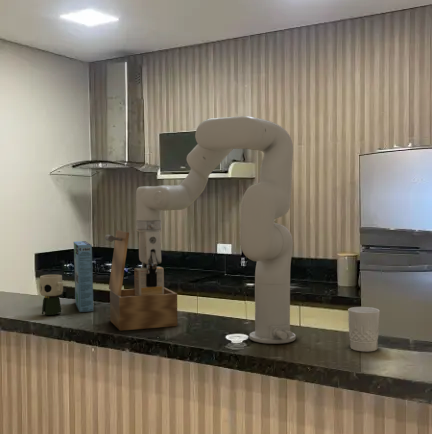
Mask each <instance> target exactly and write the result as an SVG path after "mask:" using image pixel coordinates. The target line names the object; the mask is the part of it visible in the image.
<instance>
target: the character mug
mask: <svg viewBox="0 0 432 434" xmlns="http://www.w3.org/2000/svg"><path fill="white" fill-rule="evenodd" d="M63 292H64V283H63V275H62V274H43V275H40V276H39V294H40V295H41V296H43V299H42V306H41V314H42V315H45V316H52V315H53V316H56V315H57V314H61V313H62V305H61V299H60V297H59V296H60V295H63Z"/></svg>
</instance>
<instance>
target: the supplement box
mask: <svg viewBox="0 0 432 434" xmlns="http://www.w3.org/2000/svg"><path fill="white" fill-rule="evenodd" d="M149 268H150V267H149ZM133 273H134V278H133V279H134V289H135V296H143V295H158V294H164V287H165V271H164V267H162V266H157V286H156V287H147V286H146V274H147V267H145V268H142V267H135V268H133Z"/></svg>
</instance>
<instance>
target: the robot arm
mask: <svg viewBox="0 0 432 434" xmlns="http://www.w3.org/2000/svg"><path fill="white" fill-rule="evenodd" d="M194 134H195V135H194V137H195V141H196V143H197V144H196V145H195V146H194V147H193V148H192V149H191V151H190V152H189V153H188V154H187V155H186V162H187V165H188V167H189V168H190V170H189V172H188V174H187V175H186V177H185V178H184V179H183V180H182V181H181V182H180V183H179V184H178V185H176V184H174V185H173V184H169V185H167V184H166V185H165V184H164V185H156V186H153V185H152V186H150V185H149V186H147V185H145V186H138V187H137V188H136V191H135V214H136V215H135V216H136V217H135V218H136V221H135V222H136V223H135V224H136V226H135V227H136V232H138V234H139V236H138V260H139V261H140V262H141V268H145V267H147V274H146V286H147V287H156V286H157V267H158V264H161V263H162V245H161V235H160V234H161V233H160V232H161V231H162V211H181V210H182V211H183V210H185V209H188V207H190V206H191V205H192V204H193V203H195V201H196V200H197V199H199V197H200V196H201V195H202V193H203V192H204V191H205V189H206V187H207V184H208V181H209V177H210V175H211V174H212V173H213V171H215V169H216V168H217V167H218V166H219V165H220V164H221V163H222V162H223V161H224V160H225V159H226V157H227V156H228V155H229V154H230V153H231V152H232V151H233V150H240V149H241V150H251V151H260V152H262V153H263V157H262V160H261V163H260V168H259V182H256V183H253V184H252V185H250V186H249V187H247V189H246V190H245V192H244V193H243V195H242V196H243V197H242V199H241V205H240V206H241V207H240V227H239V228H240V229H239V244H240V249H241V252H242V253H243V255H244V256H245V258H247V259H249V260H251V261H253V262H256V263H255V264H256V265H255V272H254V330H253V331H252V332H250V333H249V335H248V336H249V340H250V341H253V342H255V343H259V344H270V345H271V344H272V345H279V344H280V345H281V344H288V343H292V342H294V341H295V340H296V339H297V336H296V334H295V333H294V332H292V331H291V263H292V255H293V249H294V239H293V235H292V232H291V231H290V230H289V229H288V228H287V226H286V225H283V224H281V223H278V222H275V221H276V219H279V218H281V217H284V216H286V215H287V214H288V212H289V210H290V208H291V204H292V203H291V201H292V181H293V180H292V179H293V161H294V160H293V159H294V144H293V140H292V137H291V135H290V134H289V132H288V131H287V130H286V129H285V128H284V127H282V126H281V125H279V124H277V123H275V122H273V121H271V120H267V119H263V118H258V117H254V116H248V115H240V116H227V117H211V118H206V119H204V120H202V122H200V123H199V124H198V126H197V127H196V130H195V133H194ZM149 267H150V268H149Z"/></svg>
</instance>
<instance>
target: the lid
mask: <svg viewBox="0 0 432 434" xmlns="http://www.w3.org/2000/svg"><path fill="white" fill-rule="evenodd" d="M115 232H116V233H115V236H114V235H112V234H105V236H104V240H105V241H108V242H114V245H113V246H114V247H113V253H112V261H111V267H110V269H111V270H110V274H109V275H110V276H109V284H108V290H109V291H110V290H111V291H113V292H114V293H115V294H116V295H118V296H121V290H123V281H124V274H125V268H126V259H127V252H128V245H129V237H130V232H128V231H124V230H120V229H116V231H115Z"/></svg>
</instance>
